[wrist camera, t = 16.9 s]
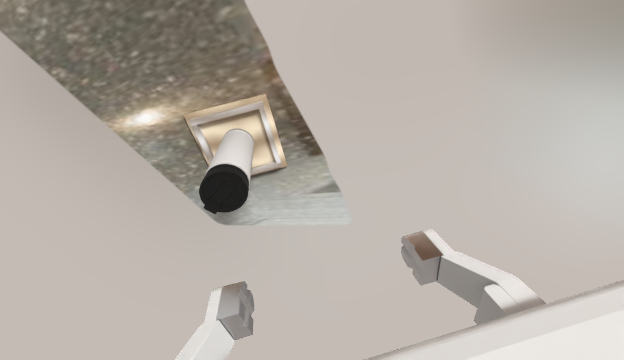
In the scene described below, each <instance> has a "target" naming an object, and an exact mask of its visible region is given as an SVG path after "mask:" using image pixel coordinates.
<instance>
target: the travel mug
mask: <svg viewBox="0 0 624 360" xmlns="http://www.w3.org/2000/svg"><path fill="white" fill-rule="evenodd" d="M253 151H254V140H253V138H252V136H251V135H250V134H249V133H248V132H247V131H245V130H243V129H231V130H229V131H228V132H227V133H226V134H225V135H224V137H223V139H222V141H221V143H220V145H219V147H218V149H217V151H216V153H215V155H214V157H213V159H212V161H211V163H210V166H209V168H208V170H207V172H206V174H205V177H204V179H203V181H202V183H201V185H200V189H199V194H200V198H201V200H202V202H203V203H204V204H205V206H204V209H206V210H208V211H210V212H212V213H214V214H216V213H217V212H231V211H234V210H236V209H238V208H240V207H241V206H242V205H243V204H244V203H245V201H246V199H247V197H248V190H249V185H250V176H251V168H252V160H253Z"/></svg>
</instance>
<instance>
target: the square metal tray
mask: <svg viewBox="0 0 624 360" xmlns="http://www.w3.org/2000/svg"><path fill="white" fill-rule="evenodd" d="M183 116H184V118H185V120H186V122H187V124H188V126H189V128H190V130H191V132H192V134H193V136H194V138H195V140H196V142H197V143H198V145H199V147H200V149H201V151H202V153H203V155H204V157H205V159H206V161H207V163H208V165H209V166H210V163H211V161H212V159H213V157H214V155H215V153H216V151H217V149H218V147H219V145H220V143H221V141H222V139H223V137H224V135H225V134H226V133H227V132H228V131H229V130H231V129H243V130H245V131H247V132H248V133H249V134H250V135H251V136H252V138H253V140H254V151H253V160H252V168H251V176H253V175H257V174H260V173H264V172H268V171H272V170H275V169H279V168H283V167H287V163H286V160H285V157H284V153H283V150H282V146H281V143H280V140H279V136H278V133H277V130H276V126H275V123H274V120H273V116H272V113H271V109H270V106H269V103H268V99H267V96H266V94H263V95H259V96H255V97H251V98H247V99H243V100H239V101H235V102H231V103H227V104H223V105H219V106H215V107H211V108H207V109H203V110H199V111H195V112H191V113H187V114H184V115H183Z"/></svg>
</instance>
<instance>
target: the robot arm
mask: <svg viewBox="0 0 624 360" xmlns="http://www.w3.org/2000/svg"><path fill="white" fill-rule="evenodd" d="M402 243H403V247H402V250H401V253H402V256H403V259H404V261H405V263H406V264H407V266H408V267H410V268H412V269H413V275H414V277H415V278H416V279H417V281H418V282H419V284H420V285H424V284H428V283H431V282H435V281H437V282H438V283H440V284H441V285H443V286H444V287H446V288H447V289H449V290H450V291H452V292H454V293H455V294H457V295H458V296H460V297H461V298H463V299H465V300H466V301H467V302H469V303H470V304H472V305H474V306H475V307H477V308H478V309H477V312H476V315H475V318H474V321H475V322H476V324H477V325H476V326H473V327H469V328H466V329H463V330H459V331H456V332H453V333H450V334H446V335H443V336H440V337H437V338H434V339H430V340H427V341H424V342H420V343H417V344H414V345H410V346H408V347H404V348H401V349H397V350H394V351H391V352H388V353H384V354H381V355H378V356H375V357H371V358H368V359H365V360H624V280H622V281H619V282H616V283H613V284H609V285H606V286H603V287H599V288H597V289H593V290H590V291H586V292H583V293H580V294H577V295H573V296H570V297H567V298H564V299H561V300H557V301H554V302H551V303H547V304H546V303H545V302H544V301H543V300H542V299H541V298H540V297H539V296H537V295H536V294H535V293H534V292H533V291H532V290H531V289H529V288H528V287H527V286H526V285H525V284H524V283H523V282H522V281H521V280H519V279H518V278H517V277H516V276H514V275H511V274H509V273H506V272H504V271H502V270H500V269H497V268H495V267H493V266H490V265H488V264H485V263H483V262H481V261H478V260H476V259H474V258H471V257H469V256H467V255H464V254H462V253H460V252H454V251H453V250H452V249H451V248H450V247H449V246H448V245H447V244H446V243H445V242H444V241H443V240H442V239H441V238H440V237H439V235H438V234H437V233H436V232H435V231H434V230H432V229H428V230H425V231H421V232H417V233H413V234H410V235H407V236H403V237H402ZM253 311H254V300H253V296H252V293H251V291H250V290H247V284H246V283H245V281H243V282H239V283H236V284H232V285H227V286H223V287H220V288H216V289H213V290H212V292H211V295H210V299H209V303H208V307H207V312H206V316H205V321H204V324H203V325H200V326H199V328H198V329H197V330H196V332H195V333H194V334H193V336H192V337H191V338H190V340H189V341H188V342H187V344H186V345H185V346H184V348H183V349H182V351H181V352H180V354H178V356H177V357H176V358H175V360H226V358H227V356H228V354H229V352H230V350H231V348H232V346H233V344H234V342H235V341H234V340H237V339H240V338H243V337H246V336H250V335H252V334H253V319H252V317H251V314H252V312H253Z"/></svg>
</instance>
